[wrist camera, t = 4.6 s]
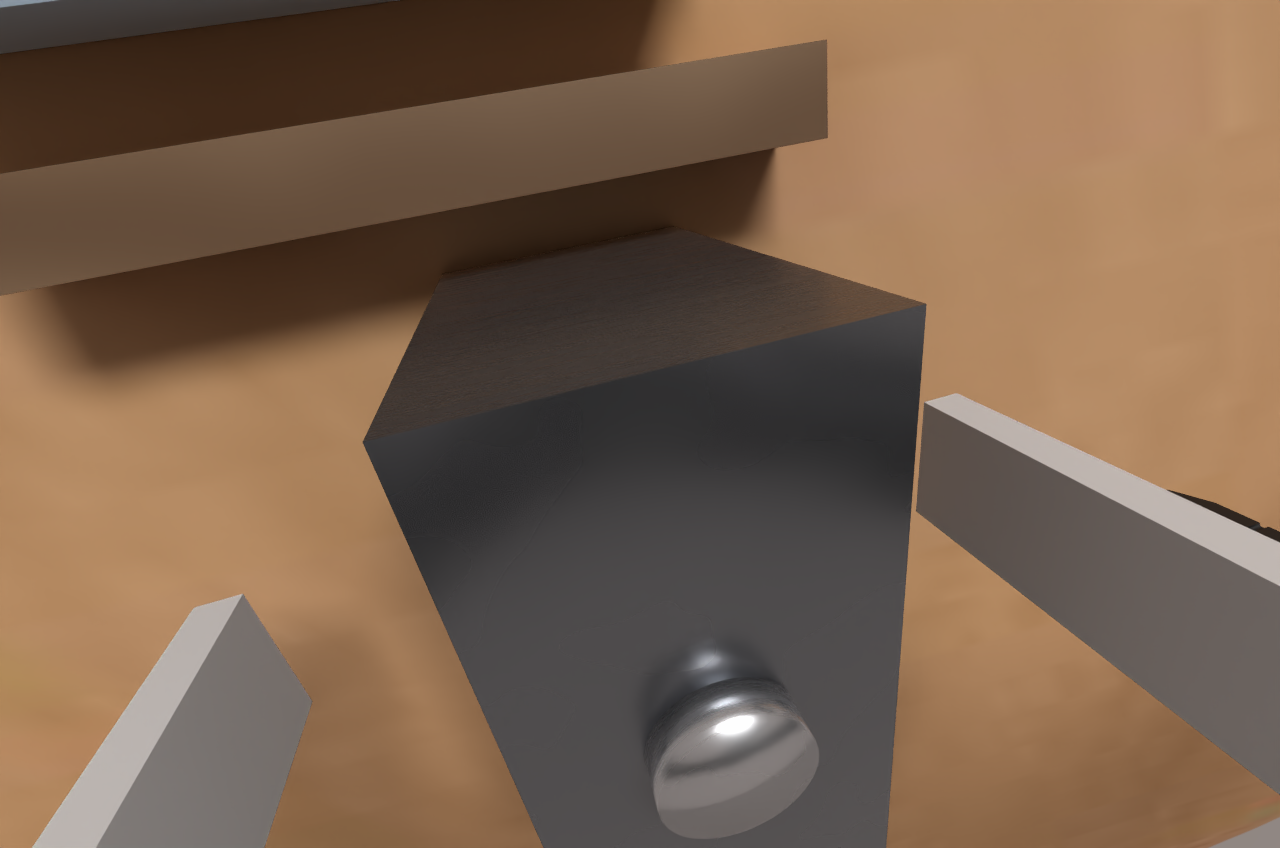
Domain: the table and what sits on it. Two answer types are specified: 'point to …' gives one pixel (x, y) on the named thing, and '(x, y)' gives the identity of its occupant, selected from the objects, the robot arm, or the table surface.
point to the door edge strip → (398, 164)
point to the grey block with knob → (668, 533)
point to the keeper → (133, 17)
